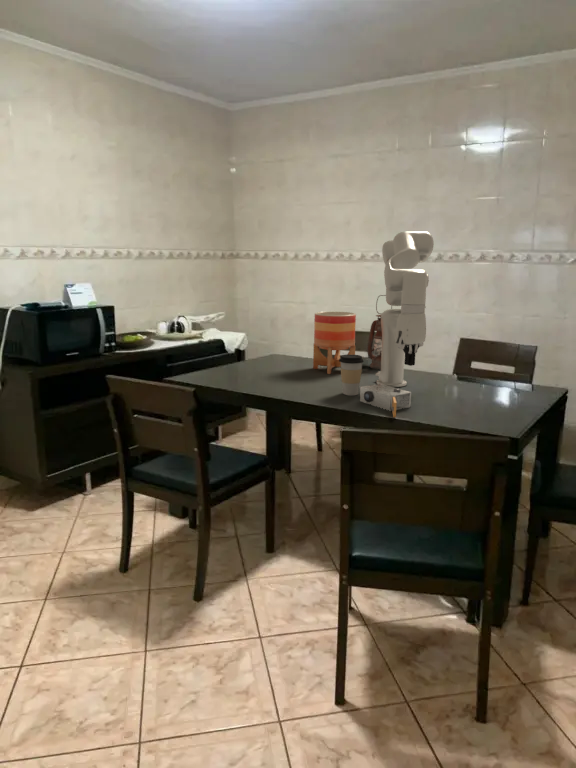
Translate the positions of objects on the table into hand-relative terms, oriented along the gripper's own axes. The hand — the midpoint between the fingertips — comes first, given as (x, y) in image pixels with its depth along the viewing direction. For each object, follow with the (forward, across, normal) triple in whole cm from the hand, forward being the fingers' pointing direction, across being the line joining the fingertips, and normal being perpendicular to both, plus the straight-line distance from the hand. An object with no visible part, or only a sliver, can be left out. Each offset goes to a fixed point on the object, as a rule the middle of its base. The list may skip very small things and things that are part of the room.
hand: (409, 364), depth 186 cm
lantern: (+20, -52, -68) cm, 88 cm away
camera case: (+18, -4, -15) cm, 24 cm away
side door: (+17, +3, -3) cm, 18 cm away
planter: (+20, -28, -75) cm, 82 cm away
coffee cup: (+18, -4, -34) cm, 39 cm away
